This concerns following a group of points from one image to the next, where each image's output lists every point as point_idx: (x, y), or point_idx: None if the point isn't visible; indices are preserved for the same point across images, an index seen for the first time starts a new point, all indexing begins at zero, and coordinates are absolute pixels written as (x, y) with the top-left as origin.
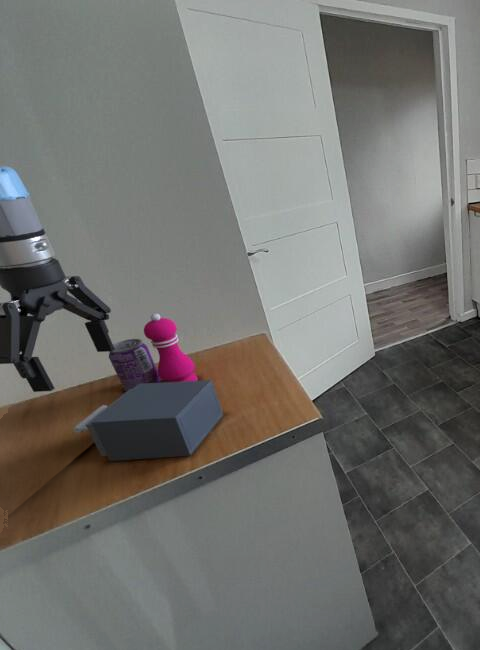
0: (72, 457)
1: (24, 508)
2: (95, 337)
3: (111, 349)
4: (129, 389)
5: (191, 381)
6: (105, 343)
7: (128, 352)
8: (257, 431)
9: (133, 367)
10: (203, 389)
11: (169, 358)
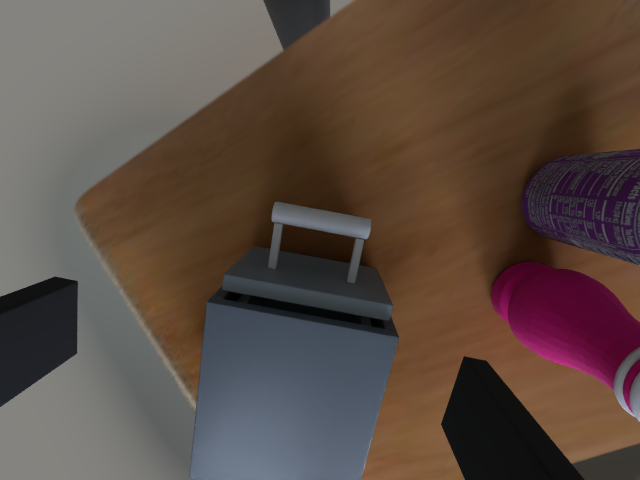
0: (281, 176)
1: (148, 172)
2: (517, 475)
3: (447, 434)
4: (390, 306)
5: (362, 466)
6: (470, 462)
7: None
8: None
9: (585, 229)
10: None
11: (572, 351)
